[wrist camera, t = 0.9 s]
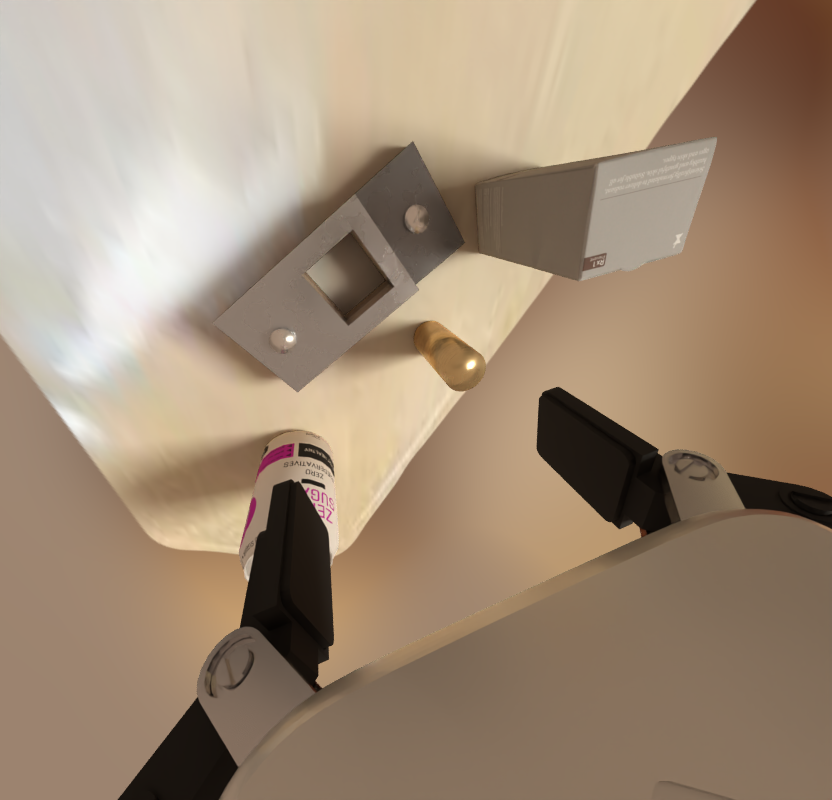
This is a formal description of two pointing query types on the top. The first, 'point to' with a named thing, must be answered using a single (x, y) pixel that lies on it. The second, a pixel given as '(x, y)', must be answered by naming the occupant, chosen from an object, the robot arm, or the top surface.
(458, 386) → the brass pin
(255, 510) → the supplement can
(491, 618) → the robot arm
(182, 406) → the top surface
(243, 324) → the grey plate with window
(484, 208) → the skincare box
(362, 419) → the top surface
